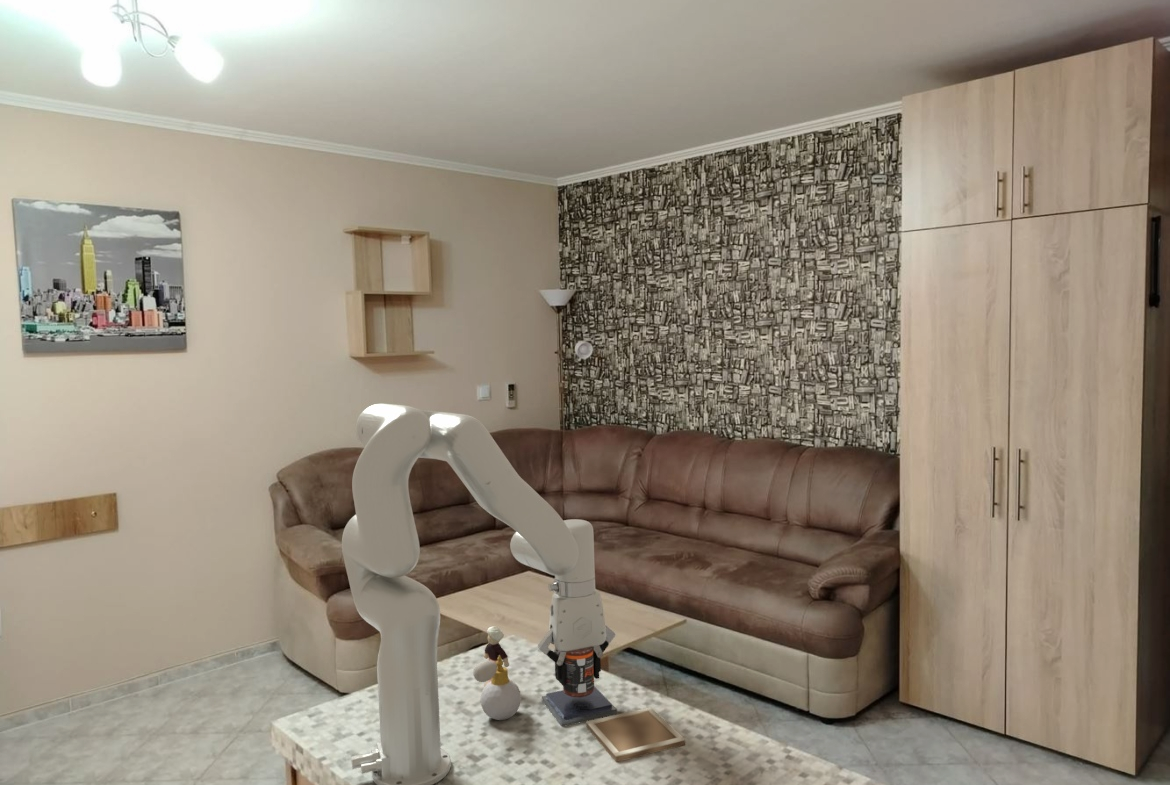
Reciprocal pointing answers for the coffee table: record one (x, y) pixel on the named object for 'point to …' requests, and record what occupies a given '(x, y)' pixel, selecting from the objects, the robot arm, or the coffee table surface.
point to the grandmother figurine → (495, 647)
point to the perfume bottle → (497, 690)
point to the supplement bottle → (579, 672)
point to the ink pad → (578, 707)
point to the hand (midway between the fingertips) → (578, 678)
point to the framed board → (634, 734)
